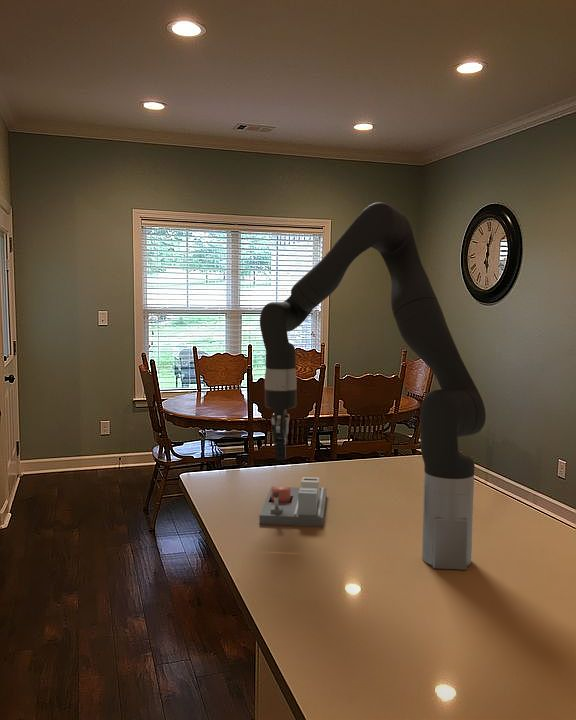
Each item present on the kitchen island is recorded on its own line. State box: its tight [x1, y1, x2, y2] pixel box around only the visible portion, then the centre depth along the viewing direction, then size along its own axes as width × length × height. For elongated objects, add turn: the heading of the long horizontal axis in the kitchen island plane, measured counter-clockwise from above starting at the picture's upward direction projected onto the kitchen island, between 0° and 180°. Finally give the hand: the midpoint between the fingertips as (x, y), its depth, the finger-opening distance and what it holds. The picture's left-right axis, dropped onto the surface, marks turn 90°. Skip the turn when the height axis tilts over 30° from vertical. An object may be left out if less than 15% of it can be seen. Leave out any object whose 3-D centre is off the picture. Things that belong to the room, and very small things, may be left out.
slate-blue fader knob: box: [298, 487, 317, 516], centre depth 144 cm, size 4×4×5 cm
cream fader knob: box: [300, 476, 320, 503], centre depth 153 cm, size 4×4×5 cm
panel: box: [258, 486, 327, 528], centre depth 152 cm, size 22×14×7 cm, turn 174°
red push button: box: [270, 485, 291, 503], centre depth 154 cm, size 5×5×4 cm
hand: (280, 459), depth 153 cm, fingers closed
